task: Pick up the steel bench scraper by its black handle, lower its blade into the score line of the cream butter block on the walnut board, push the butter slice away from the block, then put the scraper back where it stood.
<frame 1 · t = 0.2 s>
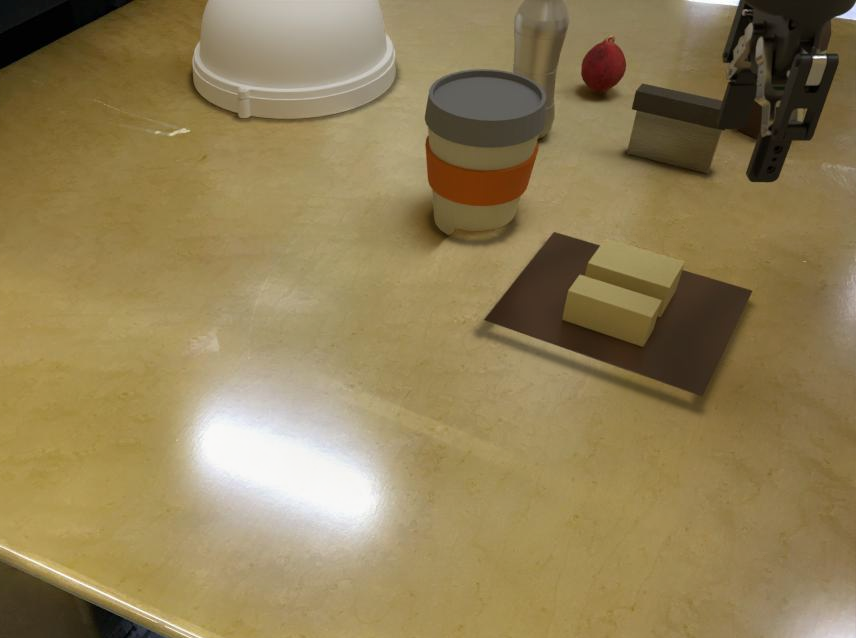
hand: (744, 152, 71), 21 cm above the table, tool pointing down, fingers open, 8 cm apart
reusable coffee cup: (473, 220, 103), on the table
beer bottle: (763, 128, 117), on the table
butter slice: (607, 325, 86), point 1 cm above the table, touching cutting board
butter block: (628, 291, 90), point 1 cm above the table, touching cutting board
pomegranate: (597, 94, 125), on the table
cutting board: (616, 316, 89), on the table
plastic bottle: (525, 135, 117), on the table
dome cover: (294, 73, 133), on the table
bench scraper: (667, 161, 111), on the table
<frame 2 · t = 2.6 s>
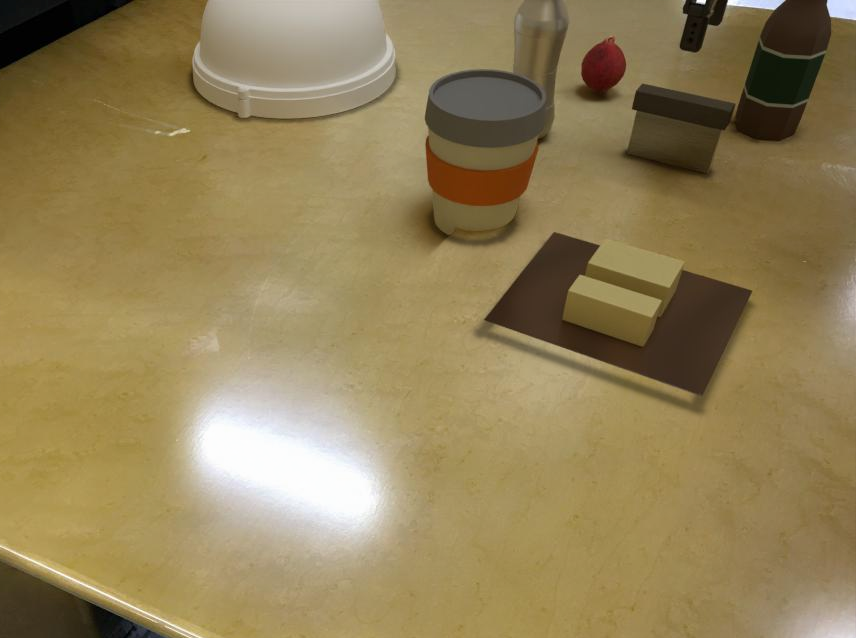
hand: (700, 36, 100), 16 cm above the table, tool pointing down, fingers open, 8 cm apart
nothing on the table moved.
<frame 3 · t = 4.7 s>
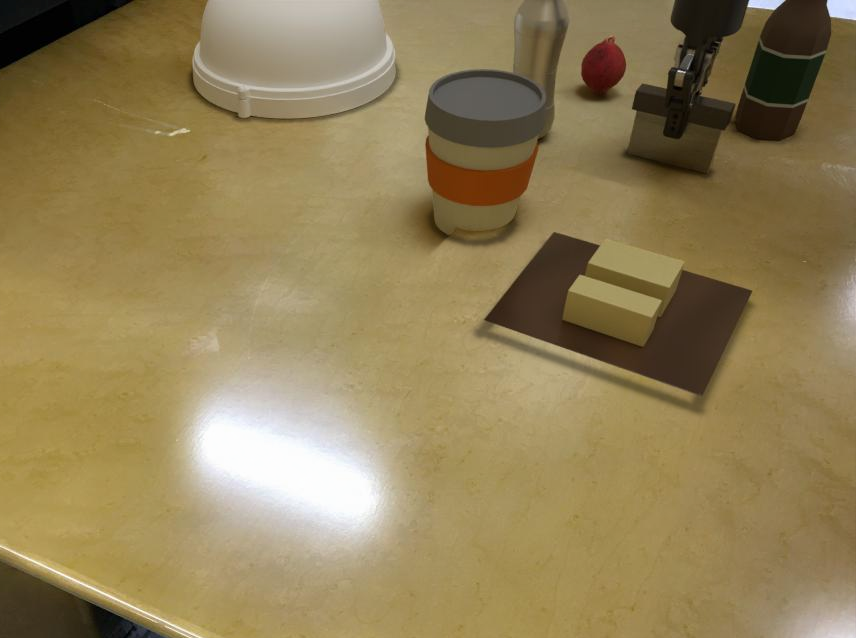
hand: (675, 130, 108), 4 cm above the table, tool pointing down, fingers closed on bench scraper, 2 cm apart
bench scraper: (667, 161, 111), on the table, touching gripper
everything else where it was.
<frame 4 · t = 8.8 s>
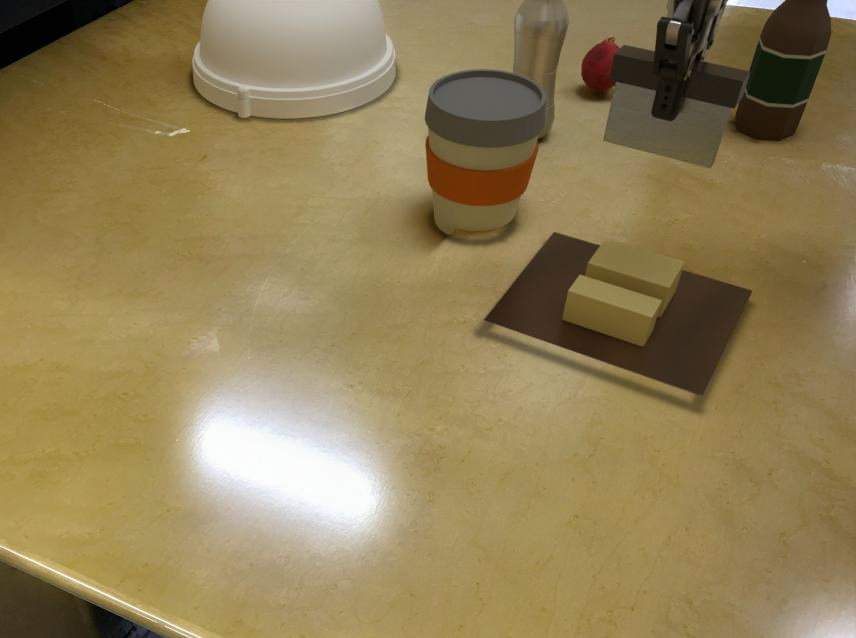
hand: (669, 110, 80), 19 cm above the table, tool pointing down, fingers closed on bench scraper, 2 cm apart
bench scraper: (657, 151, 83), point 15 cm above the table, touching gripper
everything else where it was.
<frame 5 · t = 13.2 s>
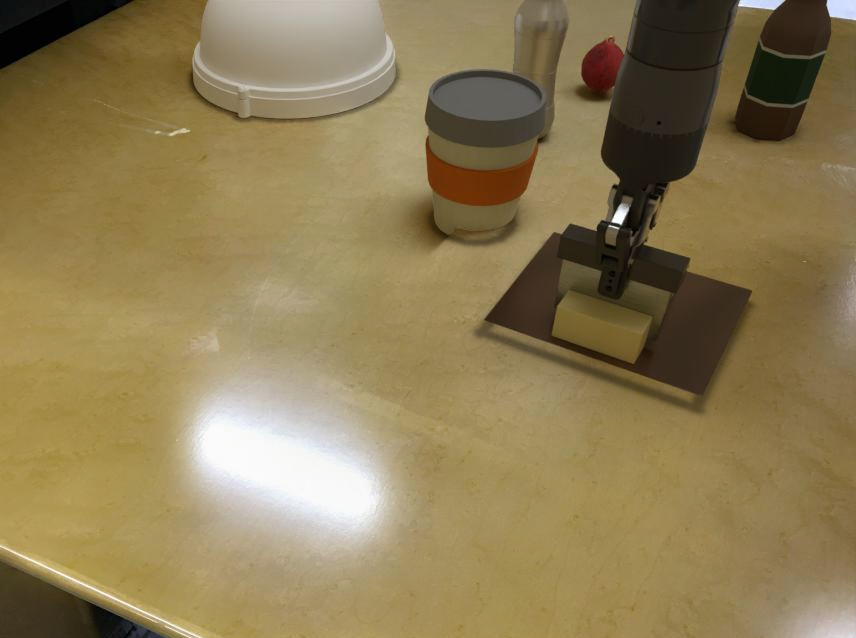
hand: (615, 285, 82), 7 cm above the table, tool pointing down, fingers closed on bench scraper, 2 cm apart
butter slice: (597, 341, 85), point 2 cm above the table, touching bench scraper, cutting board
bench scraper: (605, 320, 85), point 2 cm above the table, touching butter slice, gripper
everything else where it was.
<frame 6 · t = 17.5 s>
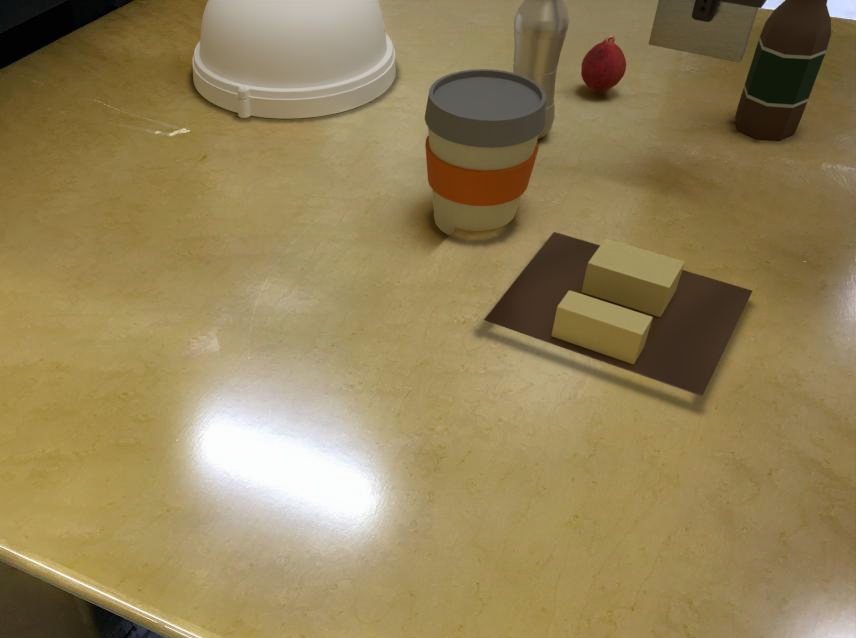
hand: (706, 14, 96), 19 cm above the table, tool pointing down, fingers closed on bench scraper, 2 cm apart
butter slice: (597, 341, 85), point 1 cm above the table, touching cutting board
bench scraper: (694, 51, 99), point 15 cm above the table, touching gripper
everything else where it was.
when the fingers open (4 cm above the table, at t = 21.0 s): bench scraper stays where it is, on the table.
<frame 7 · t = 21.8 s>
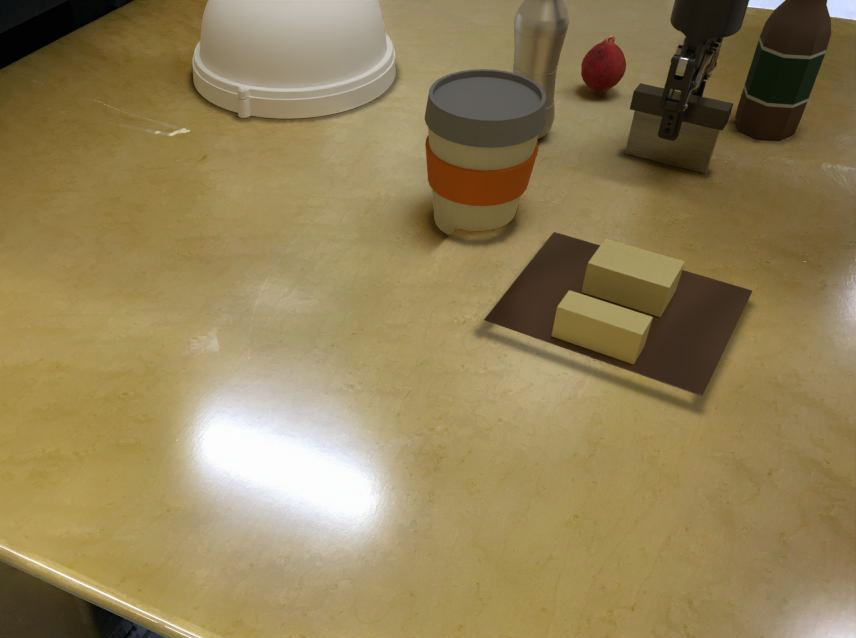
hand: (678, 123, 108), 5 cm above the table, tool pointing down, fingers open, 8 cm apart
bench scraper: (665, 161, 111), on the table
everything else where it was.
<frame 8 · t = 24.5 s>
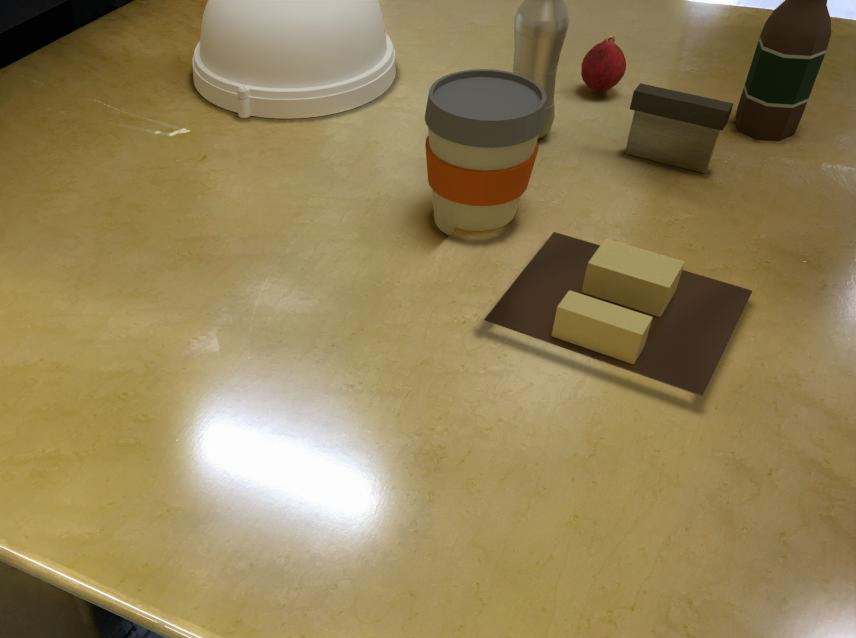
nothing on the table moved.
at the end: butter slice 0.8 cm from the target spot on the table beside the butter block, resting on cutting board; butter block moved 0.0 cm from its start; bench scraper inside the target area (0.2 cm from its centre), on the table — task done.
